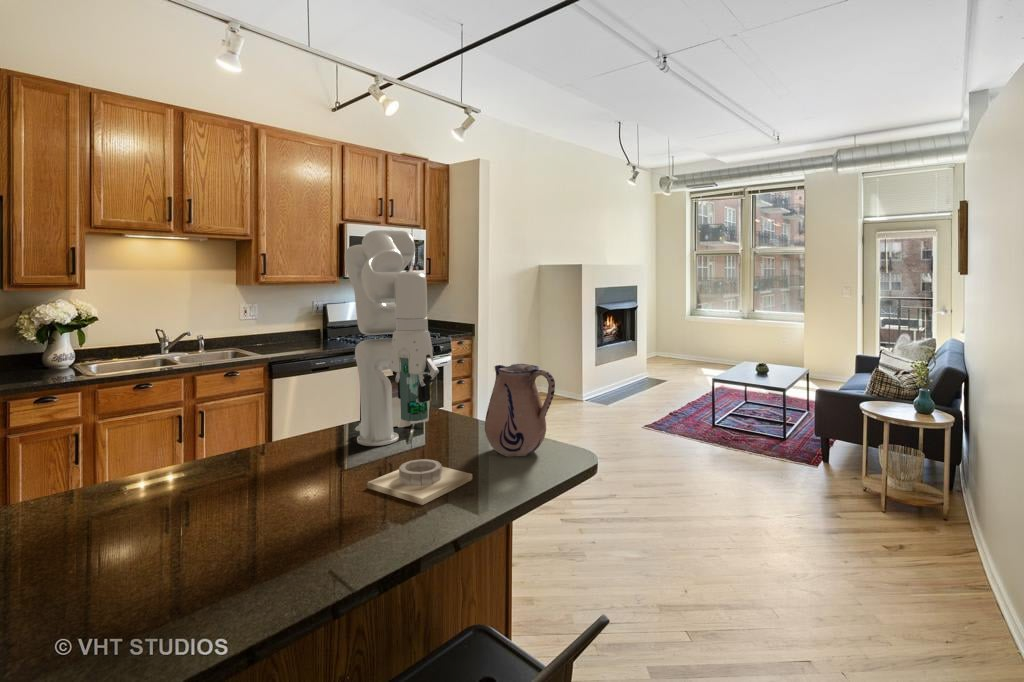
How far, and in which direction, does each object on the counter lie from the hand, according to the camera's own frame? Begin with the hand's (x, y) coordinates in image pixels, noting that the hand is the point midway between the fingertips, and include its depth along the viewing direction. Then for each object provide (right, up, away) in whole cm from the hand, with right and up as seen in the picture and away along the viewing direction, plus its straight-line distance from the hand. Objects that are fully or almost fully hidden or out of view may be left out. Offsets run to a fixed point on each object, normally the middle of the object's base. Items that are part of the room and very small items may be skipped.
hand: (414, 398), depth 134 cm
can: (0, -5, +1) cm, 5 cm away
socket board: (+1, -21, +3) cm, 21 cm away
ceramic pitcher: (+26, -18, +26) cm, 41 cm away
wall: (-12, -15, +59) cm, 62 cm away
